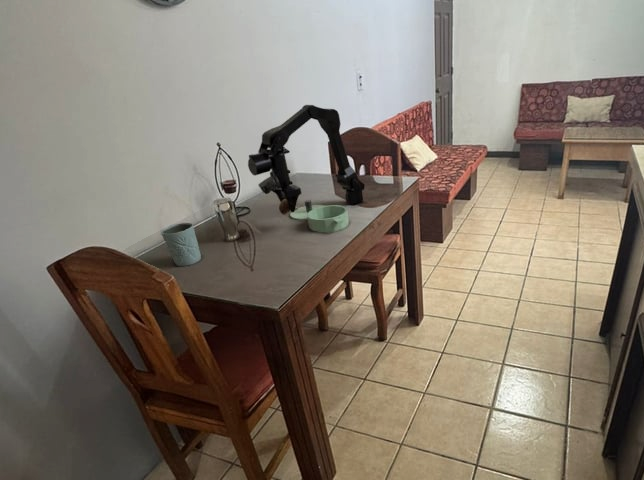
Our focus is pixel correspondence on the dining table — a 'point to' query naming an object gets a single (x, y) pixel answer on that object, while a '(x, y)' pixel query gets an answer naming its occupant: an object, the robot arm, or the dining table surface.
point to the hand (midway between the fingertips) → (288, 209)
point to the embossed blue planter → (182, 243)
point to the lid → (303, 211)
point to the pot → (328, 218)
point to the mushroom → (285, 207)
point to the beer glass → (227, 218)
